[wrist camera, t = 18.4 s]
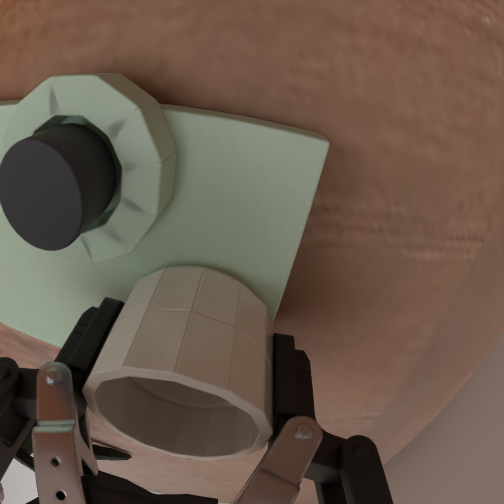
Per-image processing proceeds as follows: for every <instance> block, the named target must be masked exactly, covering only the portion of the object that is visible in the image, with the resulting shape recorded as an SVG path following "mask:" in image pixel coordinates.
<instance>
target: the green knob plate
mask: <svg viewBox="0 0 504 504" xmlns="http://www.w3.org/2000/svg"><path fill="white" fill-rule="evenodd" d="M157 102H158V101H157V100H156V99H154V98H153V97H152V96H151V95H149V94H148V93H146V92H145V91H144V90H142V89H141V88H140V87H138V86H137V85H136V84H134V83H133V82H132V81H130V80H129V79H127V78H126V77H125V76H123V75H122V74H119V73H74V74H64V75H56V76H52V77H49V78H48V79H47V80H45V81H44V82H43V83H42V84H40V85H39V86H38V87H37V88H35V89H34V90H33V91H32V92H30V93H29V94H28V95H27V96H26V97H25V98H23V99H20V100H5V101H0V164H1V162H2V159H3V157H4V155H5V154H6V153H7V151H8V150H9V149H10V148H11V147H12V146H13V145H14V144H15V143H16V142H18V141H20V140H22V139H25V138H27V137H29V136H32V135H34V134H37V133H39V132H42V131H45V130H47V129H50V128H53V127H55V126H58V125H61V124H65V123H77V124H81V125H84V126H86V127H88V128H90V129H92V130H93V131H95V132H96V133H97V134H98V135H99V136H100V137H101V138H102V139H103V140H104V141H105V143H106V144H107V146H108V148H109V150H110V152H111V154H112V156H113V159H114V163H115V168H116V188H115V192H114V195H113V198H112V200H111V202H110V204H109V206H108V207H107V209H106V210H105V211H104V212H103V213H102V214H101V215H100V216H99V217H98V218H97V219H96V220H95V221H94V222H93V223H92V224H91V225H90V226H89V227H88V228H87V229H86V230H85V231H84V232H83V233H82V234H81V235H80V236H79V237H78V238H77V239H76V240H75V241H74V242H73V243H72V244H71V245H70V246H68V247H66V248H64V249H61V250H56V251H46V250H42V249H39V248H36V247H34V246H32V245H30V244H29V243H27V242H26V241H25V240H23V239H22V238H21V237H20V236H19V235H18V234H17V233H16V232H15V230H14V229H13V228H12V226H11V225H10V224H9V222H8V220H7V218H6V216H5V214H4V212H3V209H2V207H1V203H0V323H2V324H4V325H7V326H9V327H11V328H13V329H16V330H18V331H20V332H23V333H25V334H27V335H30V336H32V337H35V338H37V339H40V340H42V341H45V342H47V343H50V344H52V345H55V346H58V347H60V348H62V347H63V345H64V343H65V342H66V340H67V338H68V337H69V335H70V333H71V332H72V330H73V328H74V326H75V325H76V324H77V321H78V320H79V318H80V316H81V315H82V313H83V312H85V311H86V310H87V309H89V308H90V307H92V306H94V307H97V308H99V306H100V304H101V303H102V301H103V299H104V298H105V297H109V298H113V299H117V300H121V301H123V302H125V300H126V298H127V297H128V295H129V294H130V292H131V290H132V289H133V287H134V285H135V284H136V282H137V281H138V280H139V279H141V278H143V277H146V276H148V275H150V274H152V273H155V272H157V271H159V270H161V269H163V268H167V267H175V266H183V265H193V266H202V267H208V268H212V269H216V270H218V271H221V272H224V273H226V274H228V275H230V276H232V277H234V278H235V279H237V280H239V281H240V282H242V283H243V284H244V285H245V286H246V287H248V288H249V289H250V290H251V291H252V292H253V294H254V295H255V296H256V297H257V298H258V299H259V300H260V301H262V302H263V303H264V304H265V306H266V307H267V310H268V313H269V317H270V320H271V323H272V325H273V322H274V319H275V316H276V313H277V311H278V308H279V305H280V302H281V299H282V296H283V293H284V290H285V287H286V284H287V281H288V278H289V275H290V272H291V269H292V266H293V263H294V260H295V257H296V254H297V251H298V248H299V245H300V241H301V238H302V235H303V232H304V229H305V226H306V223H307V219H308V216H309V213H310V210H311V206H312V203H313V200H314V197H315V193H316V190H317V187H318V183H319V180H320V177H321V173H322V170H323V166H324V163H325V159H326V156H327V153H328V149H329V146H330V142H329V141H328V140H327V139H326V138H325V137H324V136H323V135H322V134H320V133H316V132H312V131H308V130H305V129H301V128H296V127H292V126H288V125H284V124H280V123H275V122H271V121H266V120H261V119H256V118H251V117H246V116H241V115H236V114H230V113H224V112H219V111H212V110H206V109H199V108H192V107H185V106H177V105H169V104H160V103H157Z"/></svg>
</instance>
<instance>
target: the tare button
mask: <svg viewBox="0 0 504 504" xmlns="http://www.w3.org/2000/svg"><path fill="white" fill-rule="evenodd" d="M115 188H116V168H115V163H114V159H113V156H112V154H111V152H110V150H109V148H108V146H107V144H106V143H105V141H104V140H103V139H102V138H101V137H100V136H99V135H98V134H97V133H96V132H95V131H93V130H92V129H90V128H88V127H86V126H84V125H81V124H77V123H65V124H61V125H58V126H55V127H53V128H50V129H47V130H45V131H42V132H39V133H37V134H34V135H32V136H29V137H27V138H25V139H22V140H20V141H18V142H16V143H15V144H14V145H13V146H12V147H11V148H10V149H9V150H8V151H7V153H6V154H5V155H4V157H3V159H2V162H1V164H0V203H1V207H2V209H3V212H4V214H5V216H6V218H7V220H8V222H9V224H10V225H11V226H12V228H13V229H14V230H15V232H16V233H17V234H18V235H19V236H20V237H21V238H22V239H23V240H25V241H26V242H27V243H29V244H30V245H32V246H34V247H36V248H39V249H42V250H46V251H56V250H61V249H64V248H66V247H68V246H70V245H71V244H72V243H73V242H74V241H75V240H76V239H77V238H78V237H79V236H80V235H81V234H82V233H83V232H84V231H85V230H86V229H87V228H88V227H89V226H90V225H91V224H92V223H93V222H94V221H95V220H96V219H97V218H98V217H99V216H100V215H101V214H102V213H103V212H104V211H105V210H106V209H107V207H108V206H109V204H110V202H111V200H112V198H113V195H114V192H115Z"/></svg>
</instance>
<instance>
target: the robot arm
mask: <svg viewBox="0 0 504 504" xmlns="http://www.w3.org/2000/svg"><path fill="white" fill-rule="evenodd" d="M123 304H124V302H123V301H121V300H117V299H113V298H109V297H105V298H104V299H103V301H102V303H101V304H100V306H99V308H97V307H94V306H92V307H90V308H89V309H87V310H86V311H85V312H83V313H82V315H81V316H80V318H79V320H78V321H77V324H76V325H75V326H74V328H73V330H72V332H71V333H70V335H69V337H68V338H67V340H66V342H65V343H64V345H63V347H62V349H61V350H60V352H59V354H58V356H57V358H56V359H55V361H54V362H49V363H46V364H45V365H43V366H42V367H41V368H40V369H28V368H19V367H18V365H17V363H16V362H15V361H14V360H13V359H11V358H8V357H2V358H0V481H1V479H2V477H3V476H4V474H5V472H6V470H7V468H8V467H9V465H10V463H11V461H12V459H13V458H14V456H15V454H16V453H17V451H18V449H19V448H20V446H21V444H22V443H23V441H24V439H25V438H26V436H27V435H28V433H29V431H30V430H31V428H32V426H33V425H34V423H35V422H36V420H37V424H36V426H33V428H32V447H33V459H34V468H35V477H36V484H37V491H38V497H37V498H35V499H34V500H32V501H30V502H28V503H26V504H218V499H215V498H208V497H202V496H196V495H190V494H154V493H151V492H149V491H147V490H145V489H143V488H142V487H140V486H138V485H136V484H134V483H132V482H130V481H129V480H127V479H124V478H120V477H117V476H114V475H111V474H108V473H105V472H102V471H99V468H98V465H97V462H96V459H95V456H94V453H93V448H92V442H91V436H90V430H89V423H88V415H87V410H86V409H87V406H88V404H87V402H86V399H85V397H84V395H83V392H82V388H83V385H84V383H85V381H86V379H87V376H88V374H89V372H90V370H91V368H92V366H93V364H94V362H95V359H96V357H97V355H98V353H99V351H100V349H101V347H102V345H103V343H104V341H105V339H106V337H107V335H108V333H109V331H110V329H111V327H112V325H113V323H114V321H115V319H116V317H117V315H118V313H119V311H120V310H121V308H122V306H123ZM273 376H274V418H273V434H272V435H271V437H270V438H269V440H268V450H267V451H266V453H265V454H264V456H263V457H262V459H261V461H260V462H259V464H258V465H257V467H256V468H255V470H254V471H253V473H252V474H251V476H250V477H249V479H248V480H247V482H246V483H245V485H244V486H243V488H242V489H241V490H240V492H239V493H238V494H237V496H236V497H235V499H234V500H233V501H232V503H231V504H293V503H294V501H295V499H296V497H297V496H298V493H299V491H300V487H299V486H300V483H301V481H302V479H303V477H304V478H307V479H310V480H313V481H314V482H315V487H316V492H317V497H318V502H319V504H393V501H392V498H391V494H390V490H389V487H388V484H387V480H386V477H385V474H384V470H383V467H382V463H381V460H380V457H379V454H378V450H377V448H376V445H375V444H374V442H373V441H372V440H371V439H369V438H368V437H365V436H362V435H355V436H352V437H350V438H348V439H344V438H341V437H338V436H335V435H332V434H330V433H328V432H326V431H324V430H323V429H322V428H321V427H320V425H319V424H318V423H317V421H316V418H315V411H314V399H313V388H312V377H311V367H310V360H309V359H308V357H307V355H306V353H305V352H304V351H303V350H296V349H295V343H294V336H290V335H284V334H278V333H275V334H274V374H273ZM3 499H4V494H3V488H2V485H1V483H0V504H1V502H2V501H3Z"/></svg>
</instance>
